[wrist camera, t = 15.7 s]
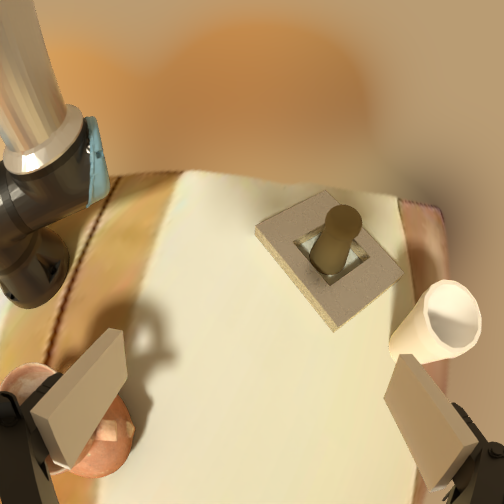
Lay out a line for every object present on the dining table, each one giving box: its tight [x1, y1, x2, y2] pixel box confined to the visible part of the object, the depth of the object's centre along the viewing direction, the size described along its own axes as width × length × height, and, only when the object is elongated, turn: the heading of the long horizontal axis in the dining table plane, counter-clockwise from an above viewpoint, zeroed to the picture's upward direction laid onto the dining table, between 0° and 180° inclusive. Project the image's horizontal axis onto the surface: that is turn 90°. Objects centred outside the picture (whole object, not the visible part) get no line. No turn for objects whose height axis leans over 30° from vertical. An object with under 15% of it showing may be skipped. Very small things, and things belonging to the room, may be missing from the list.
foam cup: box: [388, 280, 481, 364], centre depth 35 cm, size 10×9×13 cm
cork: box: [309, 205, 362, 275], centre depth 44 cm, size 6×6×11 cm
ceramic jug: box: [0, 363, 136, 478], centre depth 27 cm, size 18×14×14 cm
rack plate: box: [255, 190, 404, 333], centre depth 48 cm, size 20×15×2 cm
